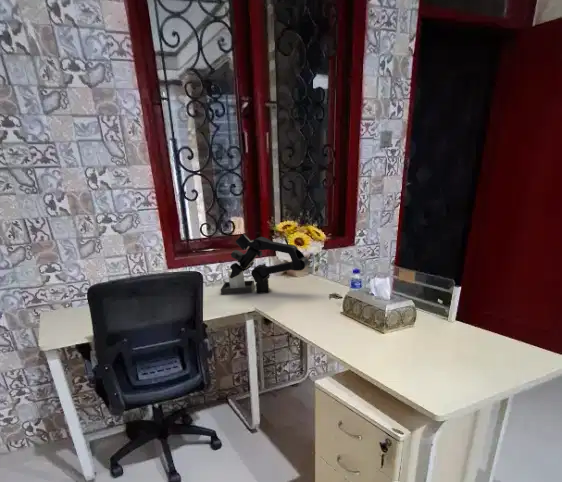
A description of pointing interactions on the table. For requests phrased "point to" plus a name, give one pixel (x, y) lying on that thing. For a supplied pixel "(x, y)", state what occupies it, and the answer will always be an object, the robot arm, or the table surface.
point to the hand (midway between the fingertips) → (234, 275)
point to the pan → (247, 289)
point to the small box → (236, 280)
